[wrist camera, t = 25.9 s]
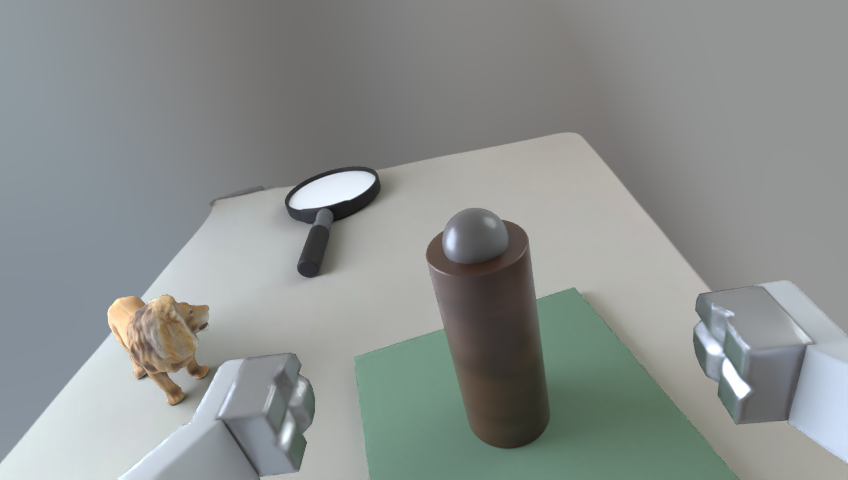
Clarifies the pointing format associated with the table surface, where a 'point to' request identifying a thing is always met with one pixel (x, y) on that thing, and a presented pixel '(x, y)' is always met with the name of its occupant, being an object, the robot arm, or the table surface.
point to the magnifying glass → (328, 207)
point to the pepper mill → (492, 325)
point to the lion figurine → (160, 338)
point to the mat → (568, 400)
